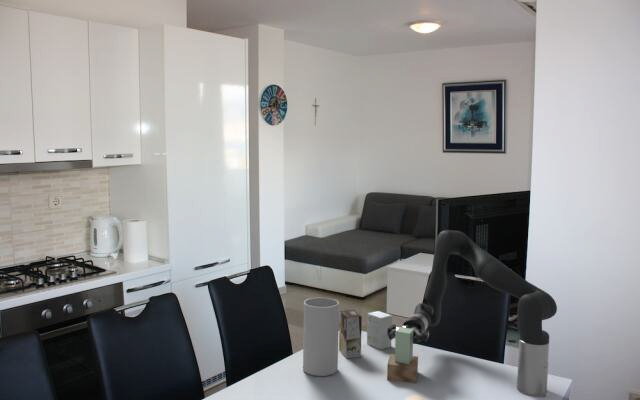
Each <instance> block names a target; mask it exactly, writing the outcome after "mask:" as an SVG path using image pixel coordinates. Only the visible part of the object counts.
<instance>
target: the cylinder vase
mask: <svg viewBox="0 0 640 400" xmlns="http://www.w3.org/2000/svg"><path fill="white" fill-rule="evenodd" d="M339 309H340V302H339V300H337V299H334V298H331V297H330V298H329V297H313V298H312V297H311V298H307V299H305V300H304V301H303V338H302V339H303V341H302V343H303V346H302V348H303V349H302V350H303V351H302V352H303V353H302V355H303V356H302V358H303V359H302V369H303V372H305V373H306V374H308V375H311V376H313V377H328V376H331V375H333V374H335V373H337V371H338V369H339V318H340V310H339Z"/></svg>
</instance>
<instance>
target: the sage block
mask: <svg viewBox="0 0 640 400" xmlns="http://www.w3.org/2000/svg"><path fill="white" fill-rule="evenodd" d="M398 327H399V328H398V329H397V330H396V333H395V334H396V337H395V345H394V354H395V362H399V363H405V364H409V363H410V362H411V360H412V356H414V355H413V353H414V352H413V351H414V350H413V349H414V344H413V331H414V329H409V328H403V327H401V326H398Z"/></svg>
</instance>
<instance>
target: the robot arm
mask: <svg viewBox="0 0 640 400" xmlns="http://www.w3.org/2000/svg"><path fill="white" fill-rule="evenodd" d="M450 255H457V256H460V257H461V258H463V259H465V260H466V261H467V262H469V264H471V266H472V268H473V271H474V273H475V274H476V276H477V277H478V278H479V279H480V280H481V281H482V282H484V283H485V284H487V285H488V286H489V287H491V288H492V289H495V290H497V291H499V292H501V293H505V294H508V295H510V296H513V297H515V298H517V299H518V303H517V314H516V315H517V321H516V322H517V331H518V334H519V341H518V345H519V346H518V358H517V359H518V362H517V378H516V379H517V380H516V381H517V382H516V388H517V389H516V390H518V391H519V392H520V393H522V394H524V395H527V396H532V397H546V395H547V391H548V377H549V351H550V349H549V347H550V346H549V345H550V333H548V332H547V331H545V330H543V321H545V320H546V321H547V320H549V319H551V318H553V317H554V316H555V315H557V312H558V311H557V310H558V306H557V303H556V301H555V299H554V298H553V296H552V295H550V293H549V292H546V290H545V291H544V290H543V289H541V288H540V287H537V286H536V285H534V284H533V283H530V282H529V281H528V280H526V279H524V278H523V276H521V275H519V274H518V273H517V272H515V271H513V270H512V269H511V268H509V267H508V266H507V265H506V264H504V263H503V262H502V261H500V260H499V259H498V258H496V257H495V256H492V254H491V253H489V252H487V251H486V250H484V249H483V248H481V247H480V246H479V245H478V244H476V243H475V242H474V241H473V240H472V239H471V238H470V237H469V236H468V235H467V234H466V233H464V232H462V231H460V230H450V229H445V230H442V231H440V232H439V234H438V235H437V238H436V242H435V247H434V253H433V260H432V265H431V272H430V276H429V279H428V283H427V286H426V289H425V291H424V296H423V297H424V299H425V300H426V302H429V303H430V304H431V305H432V306H431V305H429V304H426V303H422V302H421V303H418V304H417V305H416V306H415V308H414V310H413V311H414V312H413V314H412V315H410V316H409V317H408V318H407V319H406V320H405V321H404V322H403V324H402V326H397V325H396V324H392V326H390V327H389V328H388V331H387V335H388V336H389V339H390V340H391V341H393V340H394V338H396V330H397V329H398V328H399V327H403V328H409V329H414V331H413V345H415V344H418V343H419V342H421V341H422V342H423V343H424V342H427V341H428V339H429V338H430V330H429V329H428V327H430V326H431V327H436V326H437V325H438V324H439V323H440V321H441V316H442V301H443V298H444V294H445V292H446V288H447V285H448V284H447V283H448V281H447V280H448V279H447V271H446V269H447V268H446V267H447V262H448V259H449V257H450Z"/></svg>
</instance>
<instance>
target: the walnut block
mask: <svg viewBox="0 0 640 400" xmlns="http://www.w3.org/2000/svg"><path fill="white" fill-rule="evenodd" d="M387 361H388V362H387V368H386V369H387V370H386V371H387V372H386V373H387V374H386V380H387V381H390V382H397V383H398V382H400V383H410V384H417V380H418V379H417V378H418V369H419V368H418V366H419V356H418V355H412V360H411V362H410V363H409V364H405V363H399V362H395V353H390V354H389V357H388V360H387Z"/></svg>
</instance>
